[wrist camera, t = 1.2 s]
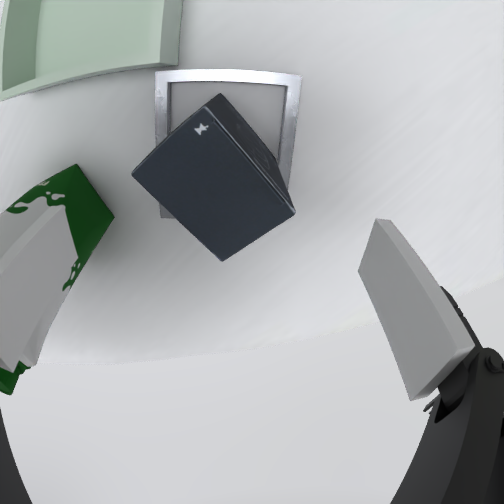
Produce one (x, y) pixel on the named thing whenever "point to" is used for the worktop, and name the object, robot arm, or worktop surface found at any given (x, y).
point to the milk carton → (83, 234)
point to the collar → (291, 81)
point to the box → (217, 179)
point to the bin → (83, 40)
